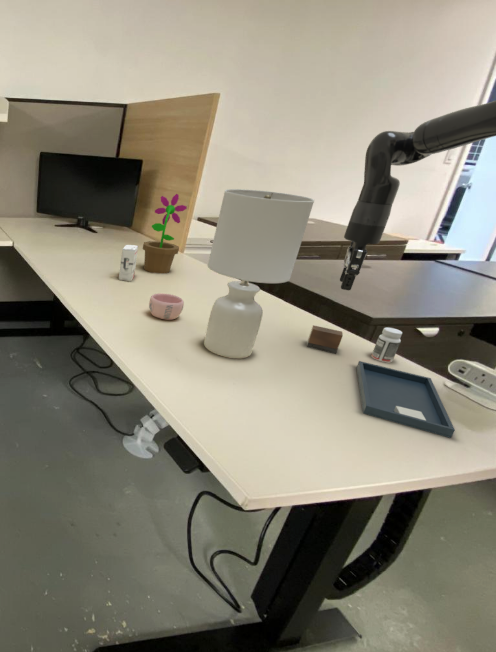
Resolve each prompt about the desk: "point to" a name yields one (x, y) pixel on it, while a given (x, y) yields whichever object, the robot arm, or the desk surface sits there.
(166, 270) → the flowerpot
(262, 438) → the desk surface
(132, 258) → the ink box
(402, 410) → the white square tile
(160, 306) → the pink bowl
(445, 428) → the tray
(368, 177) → the robot arm
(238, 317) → the lamp
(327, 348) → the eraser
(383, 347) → the pill bottle
